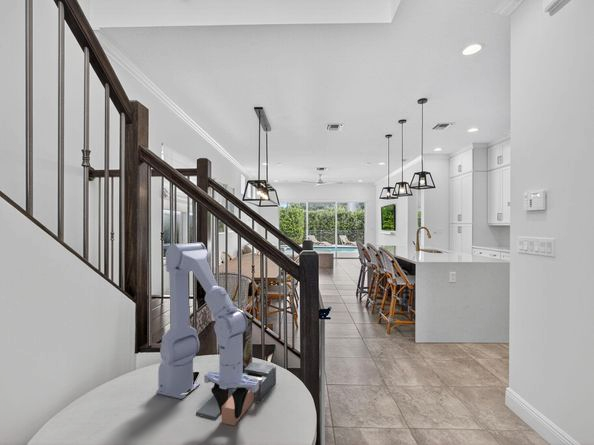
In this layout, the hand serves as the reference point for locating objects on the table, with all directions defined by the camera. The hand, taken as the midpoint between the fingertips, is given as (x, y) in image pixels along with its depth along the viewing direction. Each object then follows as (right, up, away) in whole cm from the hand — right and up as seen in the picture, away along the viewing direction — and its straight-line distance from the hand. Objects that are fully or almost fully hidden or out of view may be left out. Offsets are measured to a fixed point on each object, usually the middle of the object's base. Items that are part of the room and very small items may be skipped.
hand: (231, 414), depth 76 cm
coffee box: (-3, -2, +25) cm, 25 cm away
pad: (-5, -2, +7) cm, 9 cm away
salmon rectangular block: (+1, -1, +4) cm, 4 cm away
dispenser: (+4, -1, +13) cm, 14 cm away
